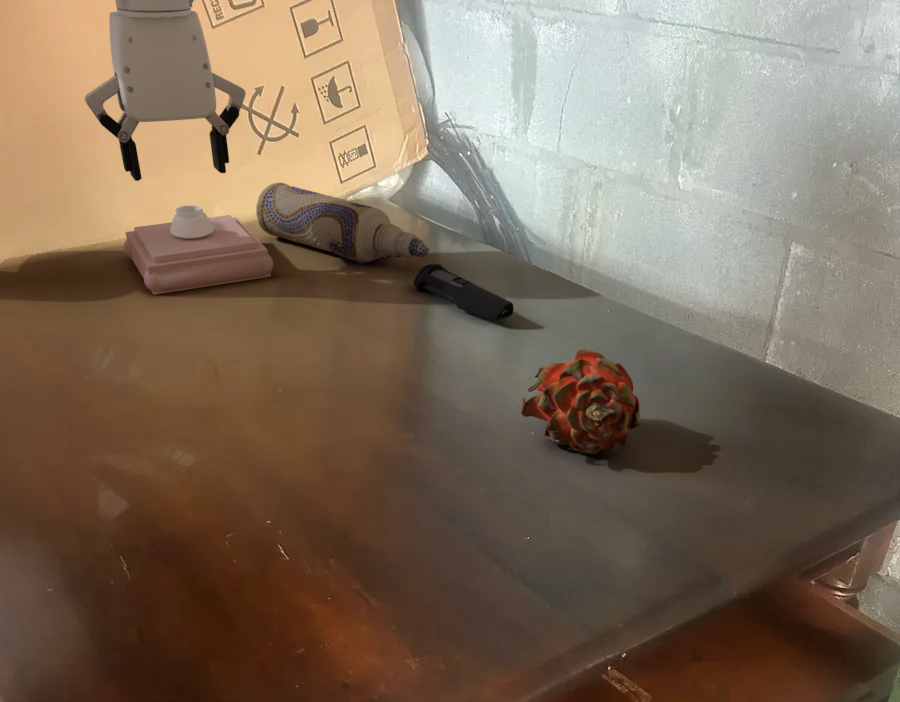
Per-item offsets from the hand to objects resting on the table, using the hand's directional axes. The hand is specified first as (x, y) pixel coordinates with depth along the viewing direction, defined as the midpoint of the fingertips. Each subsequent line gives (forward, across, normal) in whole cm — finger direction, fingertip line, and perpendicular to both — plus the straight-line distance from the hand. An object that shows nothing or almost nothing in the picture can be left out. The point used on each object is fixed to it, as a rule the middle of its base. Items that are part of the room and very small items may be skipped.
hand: (178, 174), depth 105 cm
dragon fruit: (+10, -20, +57) cm, 61 cm away
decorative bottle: (+10, -18, +3) cm, 21 cm away
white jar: (+7, -1, 0) cm, 7 cm away
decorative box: (+11, -1, 0) cm, 11 cm away
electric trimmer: (+10, -25, +25) cm, 37 cm away
